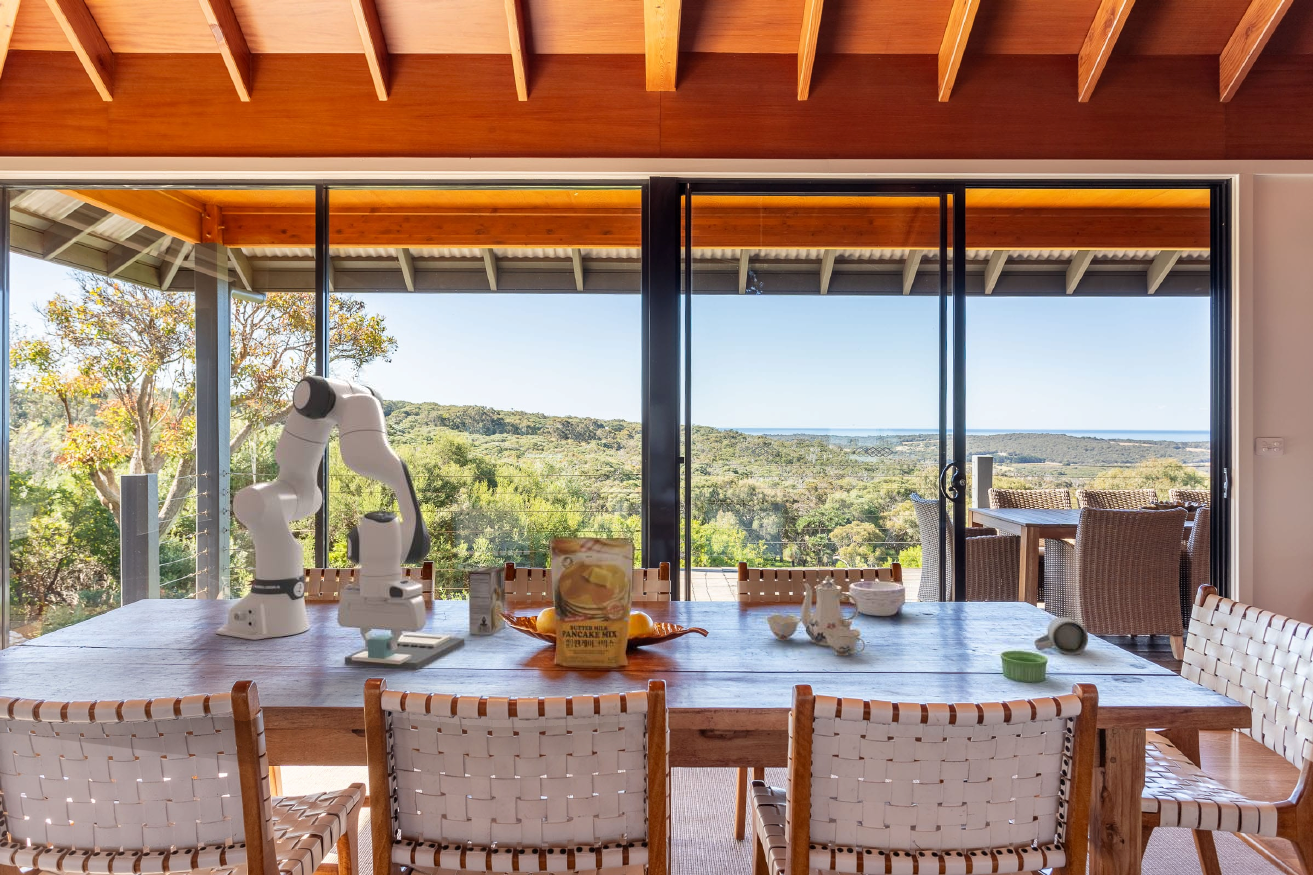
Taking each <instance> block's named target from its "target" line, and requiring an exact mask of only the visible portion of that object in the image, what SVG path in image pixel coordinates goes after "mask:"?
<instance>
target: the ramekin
mask: <svg viewBox="0 0 1313 875" xmlns="http://www.w3.org/2000/svg"><path fill="white" fill-rule="evenodd" d="M1000 659H1001V665H1002V674H1003V676H1005V677H1006V678H1007V679H1008V680H1009V679H1010V680H1013V681H1014V682H1015V681H1016V682H1020V683H1021V682H1022V683H1031V684H1032V683H1041V682H1043V681H1044V680H1045V679H1046V674H1047V664H1048V660H1049V658H1048V657H1046V656H1045V655H1043V654H1040V653H1037V652H1032V651H1024V650H1007V651H1002V652H1001V653H1000Z"/></svg>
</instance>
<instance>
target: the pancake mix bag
mask: <svg viewBox="0 0 1313 875" xmlns="http://www.w3.org/2000/svg"><path fill="white" fill-rule="evenodd" d="M548 550H549V564H550V565H549V566H550V577H551V578H550V580H551V593H552V601H553V608H554V628H555V637H556V645H555V646H556V648H555V654H554V660H553V661H554V662H553V665H560V666H562V667H567V668H569V667H570V668H586V669H587V668H588V669H589V668H591V669H592V668H598V669H599V668H600V669H615V668H616V669H617V668H619V667H622V666H623V667H624V666H628V665H629V664H628V658H627V655H626V651H627V647H628V646H627V645H628V638H629V630H630V629H629V628H630V617H631V610H632V609H631V608H632V602H633V590H634V574H635V573H634V569H635V568H634V566H635V564H634V563H635V556H636V552H635V543H634V542H629V538H625V537H617V538H616V537H605V538H604V537H590V536H587V537H584V536H575V537H573V536H570V537H569V536H566V537H554V538H552V539H549V540H548Z"/></svg>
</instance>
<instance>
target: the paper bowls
mask: <svg viewBox="0 0 1313 875" xmlns="http://www.w3.org/2000/svg"><path fill="white" fill-rule="evenodd" d="M905 588H906V587H905V585H902V584H901V583H895V582H888V581H858V582H852V583H850V584H849V594H851V595H853V596H854V597H855V598H856V600H857V602H858V605H859V611H858V612H860V613H861V614H863V615H868V616H875V617H889V616H893V615H895V614H896V613H897V612H898V609H899V607H901V606H902V607H903V606H904V605H905V604H906V589H905ZM849 602H850V603H851V604H854V605H855V602H854V600H853V599H852V598H851V597H849Z"/></svg>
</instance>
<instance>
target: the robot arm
mask: <svg viewBox="0 0 1313 875" xmlns="http://www.w3.org/2000/svg"><path fill="white" fill-rule="evenodd" d="M292 393H293V394H292V405H293V407H292V409H291V411H290V413H289V415H288V417H287V419H286V421H285V423H284V426H283V428H282V431H281V432H280V433H281V434H280V436H279V439H278V440H277V443H276V445H275V449H274V451H273V458H274V460H275V462H276V463H277V464H278V465H279V470H278V471H279V472H278V473H279V474H278V477H277V479H276V480H275V481H263V482H256V483H253V484H251V485H250V484H249V485H247V486H246V487H243V488H241V489H239V490H238V492H236V494H235V495H234V497H233V501H232V510H233V513H234V516H235V517H236V519H237V520H238V521H239V522H240V523H242V524H243V525H244V526H245V527H246V529H247V530H248V531H249V532H248V533H249V534H250V536H251V538H252V542H253V545H254V549H255V550H254V552H255V575H256V576H255V578H253V579H252V580H248V581H246V583H247V584H246V586H247V587H248V586H251V588H250V591H249V593H248V594H246V595H245V596H244V597H243V598H241V599H240V600H239V601H238V602H237V603H235V604H234V605H232V607H230V609H229V612H228V614H227V624H226V625H223V626H221V627H219V628H218V629H217V630H216V634H218V635H223V636H228V637H236V638H241V639H247V640H255V641H256V640H262V639H268V638H278V637H284V636H287V637H288V636H291V635H296V634H300V633H303V632H306V631H308V630H310V629H311V625H310V621H309V618H308V614H307V608H306V603H305V602H306V601H305V590H306V575H305V574H304V546H303V545H302V543H301V542H300V541H299V540H298V539H296V538H295V537H294V535H293V533H292V529H291V527H290V523H291V522H297V521H302V520H304V519H307V518H309V517H311V516H313V515H315V514H317V512H319V510H320V508H321V507H322V503H323V495H322V491H321V488H320V487H319V486H318V470H319V467H320V464H321V461H322V458H323V456H324V453H325V451H326V447H327V445H328V443H329V440H330V437H331V433H332V431H333V428H334V426H336V425H337V426H338V441H339V442H338V445H339V450H340V451H339V453H340V457H341V460H342V462H343V464H344V465H345V466H346V467H347V468H348V469H349V470H350V471H352V472H354V473H355V474H357V475H359V476H362V477H364V478H368V479H372V480H375V481H378V482H380V483H382V484H385V485H386V486H388V487H389V488H390V489H391V490H392V491H393V492H394V495H395V498H396V502H397V505H398V509H399V513H400V515H401V516H400V517H401V520H402V521H400V519H399V516H398V515H397V514H396V513H394V512H391V511H386V510H376V511H374V510H373V511H370V512H367V513H365V514H363V516H362V517H361V518H362V519H361V522H360V523H361V524H359V525H358V524H357V525H355V526H354V527H352V528H351V530H350V531H348V532H347V534H346V558H347V560H349V561H350V562H351V563H353V564H354V565H356V566H360V569H359V584H349V583H348V584H345V585H344V586H342V588H341V589H339V603H338V608H337V624H338V625H339V626H340V627H342V628H351V629H353V628H355V629H360V635H361V636H362V638H363V640H364V643H365V644H364V646H365V648H367V649H368V639H370V638H372V637H373V635H371V632H372V630H382V631H390V633H391V634H390V636H393V638H392V640H391V641H390V642H387V650H393V651H394V650H396V649H397V641H398V640H399V638H400V636H401V634H403V632H406V633H407V632H408V633H417V632H418V631H421V630H422V629H424V627H425V626H426V624H427V623H426V622H427V612H426V604H425V599H424V597H423V596H422V595H421V594H422V593H423V592H424V587H423V584H422V583H420V582H418V581H415V580H413V579H410V578H408V577H406V576H405V575H403V568H402V566H401V565H418V564H419V563H421V562H422V561H423V560H424V559H426V558H427V556H428V555H429V554H430V552H431V550H432V549H431V547H432V545H431V544H432V543H431V542H432V541H431V540H432V539H431V535H430V532H429V529H428V526H427V523H426V521H425V519H424V517H423V513H422V511H421V507H420V504H419V500H418V496H417V493H416V490H415V487H414V482H413V480H412V477H411V474H410V473H411V472H410V471H409V467H408V465H407V464H406V461H405V460H404V458H402V457H401V456H399V455H397V454H396V452H395V450H393V448H392V446H391V443H390V440H389V435H388V427H387V421H386V418H385V417H386V416H385V413H384V401H383V397H382V395H381V394H380V393H379V392H378V391H377V390H376V389H374V388H371V387H369V386H366V385H365V386H363V385H361V384H358V383H355V382H351V381H349V380H341V379H337V378H335V379H334V378H328V377H323V376H321V375H307V376H304V377H302V378H301V379H299V381H298V382H297V384H296V385H295V387H294V389H293V392H292ZM365 648H364V649H365Z"/></svg>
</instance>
